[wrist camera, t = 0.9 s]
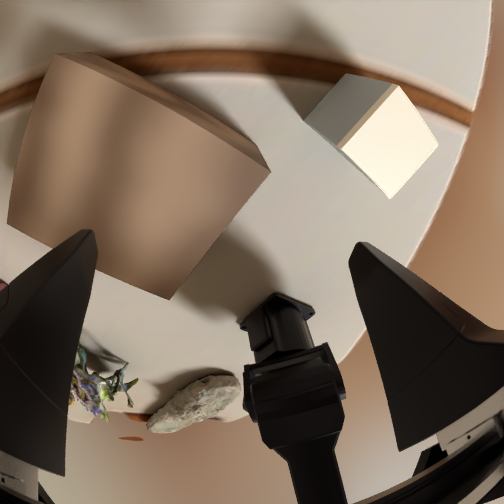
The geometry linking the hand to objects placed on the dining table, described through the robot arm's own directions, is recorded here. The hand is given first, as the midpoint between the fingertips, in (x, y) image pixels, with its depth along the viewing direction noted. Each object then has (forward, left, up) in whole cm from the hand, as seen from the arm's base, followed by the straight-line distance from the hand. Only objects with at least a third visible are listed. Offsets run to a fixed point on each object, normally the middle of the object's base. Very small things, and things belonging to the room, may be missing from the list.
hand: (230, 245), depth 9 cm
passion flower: (-2, +33, -12) cm, 35 cm away
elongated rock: (-20, +44, -13) cm, 50 cm away
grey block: (-7, -7, -12) cm, 16 cm away
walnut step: (+4, +5, -12) cm, 14 cm away
